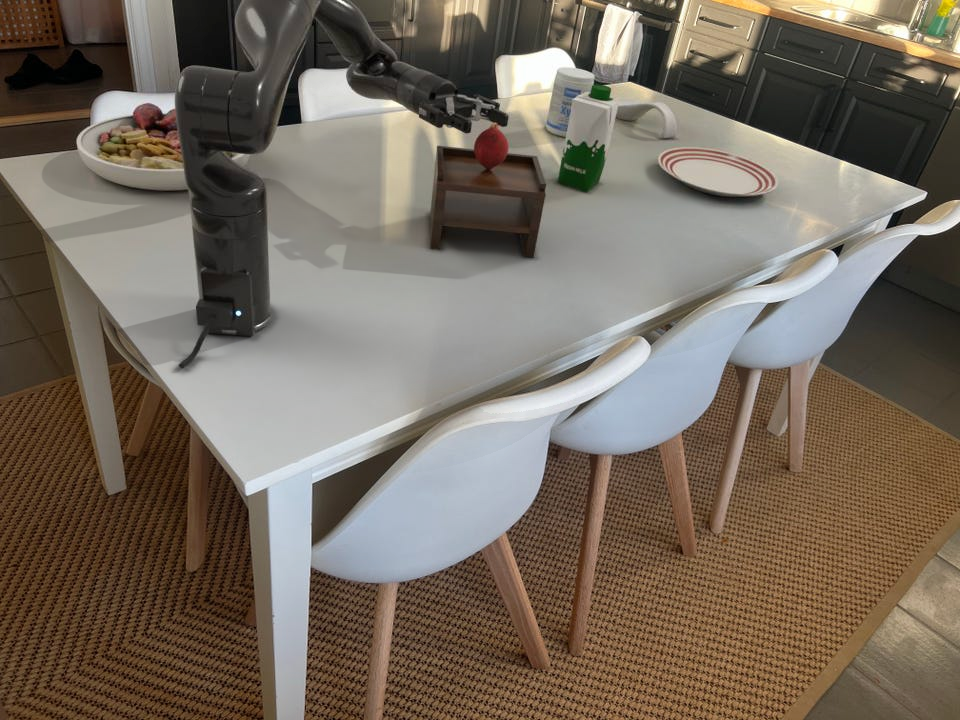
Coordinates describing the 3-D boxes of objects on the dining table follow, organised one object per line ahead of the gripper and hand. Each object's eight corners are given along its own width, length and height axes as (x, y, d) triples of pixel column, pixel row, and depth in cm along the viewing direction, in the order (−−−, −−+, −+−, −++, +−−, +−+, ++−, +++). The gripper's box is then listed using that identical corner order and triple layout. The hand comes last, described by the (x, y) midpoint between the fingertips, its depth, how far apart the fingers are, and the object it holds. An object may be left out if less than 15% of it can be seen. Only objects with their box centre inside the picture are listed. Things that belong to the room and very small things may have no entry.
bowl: (277, 185, 142) (276, 144, 138) (107, 208, 126) (99, 162, 121) (218, 131, 161) (215, 94, 156) (63, 145, 144) (55, 104, 140)
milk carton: (603, 183, 165) (625, 90, 154) (589, 195, 158) (611, 99, 147) (567, 172, 168) (586, 80, 156) (551, 183, 161) (569, 88, 150)
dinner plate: (728, 215, 159) (733, 200, 157) (631, 168, 175) (634, 154, 173) (796, 194, 175) (801, 181, 173) (701, 153, 191) (705, 140, 189)
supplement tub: (558, 139, 185) (570, 78, 177) (538, 126, 192) (548, 66, 184) (590, 137, 190) (603, 77, 181) (569, 124, 196) (581, 66, 188)
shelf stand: (533, 258, 131) (547, 186, 124) (430, 248, 129) (437, 175, 122) (525, 223, 143) (537, 155, 135) (430, 214, 140) (436, 145, 133)
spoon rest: (594, 111, 209) (600, 84, 205) (625, 108, 215) (631, 83, 211) (654, 141, 194) (661, 113, 190) (685, 137, 200) (693, 110, 196)
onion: (501, 178, 127) (508, 131, 123) (468, 171, 128) (474, 125, 123) (507, 167, 132) (514, 121, 127) (475, 160, 132) (481, 115, 128)
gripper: (396, 77, 129) (459, 106, 120) (458, 70, 138) (521, 97, 129) (394, 120, 133) (454, 152, 124) (454, 111, 142) (514, 140, 133)
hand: (488, 124), depth 126 cm, fingers open, 8 cm apart
